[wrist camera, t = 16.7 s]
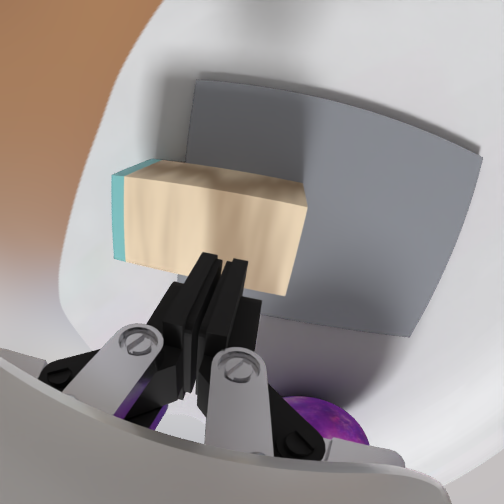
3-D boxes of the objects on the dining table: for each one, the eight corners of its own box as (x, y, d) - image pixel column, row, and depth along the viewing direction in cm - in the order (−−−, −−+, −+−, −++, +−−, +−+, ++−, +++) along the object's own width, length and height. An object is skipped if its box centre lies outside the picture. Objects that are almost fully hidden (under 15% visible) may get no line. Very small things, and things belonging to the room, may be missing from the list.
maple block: (307, 207, 13) (111, 174, 14) (285, 296, 15) (114, 258, 16) (302, 183, 18) (151, 158, 18) (286, 254, 20) (148, 227, 20)
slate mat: (478, 156, 15) (483, 157, 15) (407, 332, 23) (409, 337, 22) (199, 80, 16) (196, 79, 15) (179, 291, 23) (177, 296, 23)
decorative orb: (236, 353, 26) (199, 509, 12) (386, 372, 25) (412, 510, 12) (223, 427, 32) (199, 529, 19) (335, 440, 32) (335, 539, 18)
